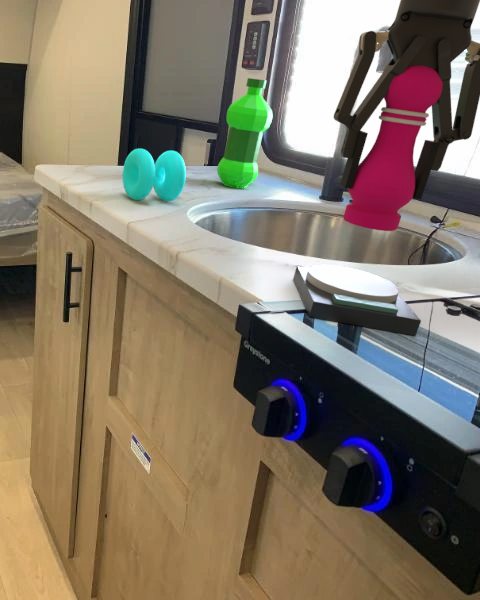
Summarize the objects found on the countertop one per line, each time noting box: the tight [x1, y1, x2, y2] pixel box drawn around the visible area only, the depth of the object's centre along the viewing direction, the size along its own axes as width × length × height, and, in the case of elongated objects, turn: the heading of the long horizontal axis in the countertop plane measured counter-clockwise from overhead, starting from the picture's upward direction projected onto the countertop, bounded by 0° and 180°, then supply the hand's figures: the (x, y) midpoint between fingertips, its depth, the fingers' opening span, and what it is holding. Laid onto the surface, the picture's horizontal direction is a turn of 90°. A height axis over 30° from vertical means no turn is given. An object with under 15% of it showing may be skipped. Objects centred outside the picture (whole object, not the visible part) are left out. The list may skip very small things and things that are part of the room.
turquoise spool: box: [122, 147, 187, 202], centre depth 119 cm, size 10×10×10 cm
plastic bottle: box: [216, 77, 273, 189], centre depth 144 cm, size 10×10×25 cm
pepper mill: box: [343, 65, 443, 232], centre depth 70 cm, size 7×7×20 cm
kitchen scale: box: [292, 264, 422, 337], centre depth 76 cm, size 12×14×3 cm
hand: (379, 191), depth 72 cm, fingers closed on pepper mill, 7 cm apart
